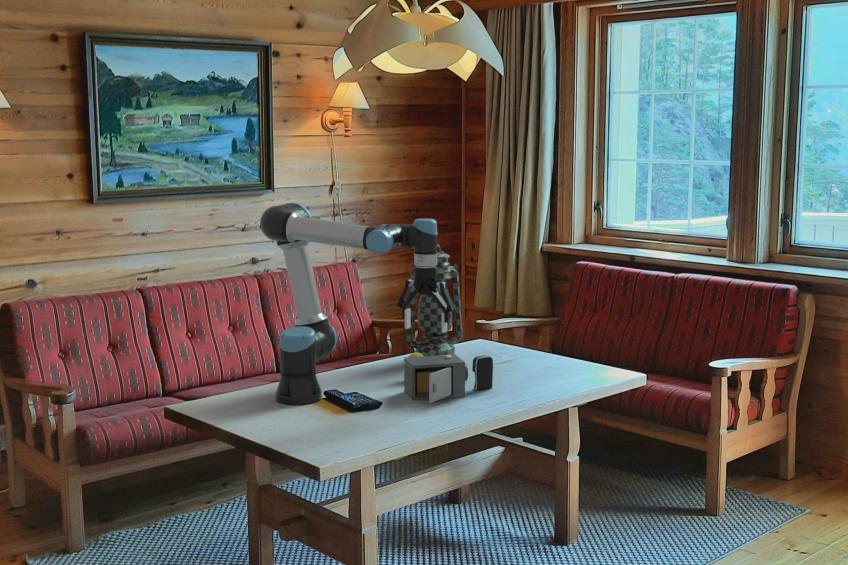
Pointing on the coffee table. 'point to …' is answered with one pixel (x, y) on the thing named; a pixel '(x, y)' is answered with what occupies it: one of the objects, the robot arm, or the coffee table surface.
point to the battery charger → (483, 372)
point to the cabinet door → (439, 384)
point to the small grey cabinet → (425, 365)
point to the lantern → (436, 314)
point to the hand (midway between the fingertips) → (425, 330)
